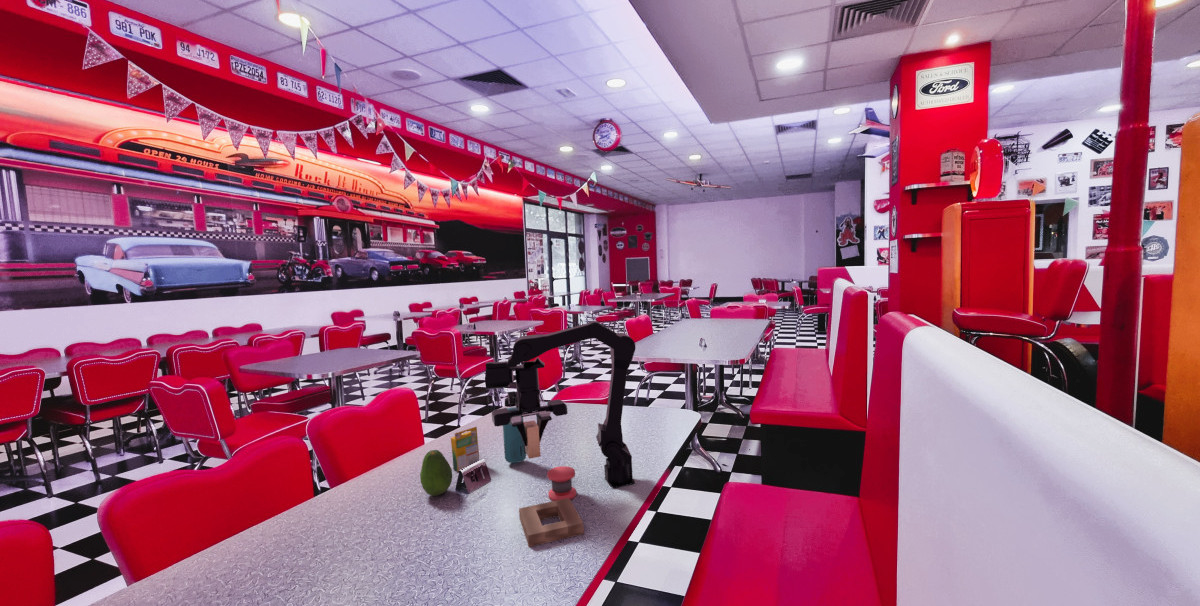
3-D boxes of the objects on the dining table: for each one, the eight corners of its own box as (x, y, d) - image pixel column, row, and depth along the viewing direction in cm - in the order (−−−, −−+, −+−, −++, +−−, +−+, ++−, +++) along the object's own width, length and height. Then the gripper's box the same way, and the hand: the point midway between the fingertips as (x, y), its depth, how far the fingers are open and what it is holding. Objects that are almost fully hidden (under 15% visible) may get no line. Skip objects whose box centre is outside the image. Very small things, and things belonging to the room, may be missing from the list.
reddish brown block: (536, 449, 126) (534, 420, 125) (540, 456, 121) (538, 425, 121) (525, 451, 125) (522, 422, 124) (529, 458, 120) (526, 428, 120)
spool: (572, 486, 125) (570, 464, 124) (579, 498, 118) (578, 475, 118) (546, 491, 123) (544, 469, 122) (552, 504, 116) (550, 480, 116)
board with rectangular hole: (569, 507, 114) (568, 497, 114) (583, 533, 103) (583, 522, 102) (519, 518, 110) (518, 508, 110) (528, 547, 99) (528, 535, 99)
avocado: (415, 498, 123) (411, 453, 122) (437, 485, 130) (434, 442, 129) (438, 504, 119) (434, 457, 118) (460, 490, 126) (457, 446, 125)
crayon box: (475, 461, 145) (472, 424, 144) (480, 464, 143) (477, 426, 142) (452, 469, 140) (449, 431, 139) (457, 472, 137) (454, 433, 136)
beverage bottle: (522, 468, 138) (518, 401, 136) (501, 467, 139) (496, 400, 138) (530, 459, 144) (526, 394, 143) (509, 458, 146) (505, 394, 144)
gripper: (555, 374, 132) (558, 428, 134) (486, 384, 126) (491, 441, 127) (565, 382, 122) (570, 441, 123) (492, 393, 116) (497, 455, 117)
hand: (532, 444), depth 123 cm, fingers closed on reddish brown block, 3 cm apart
